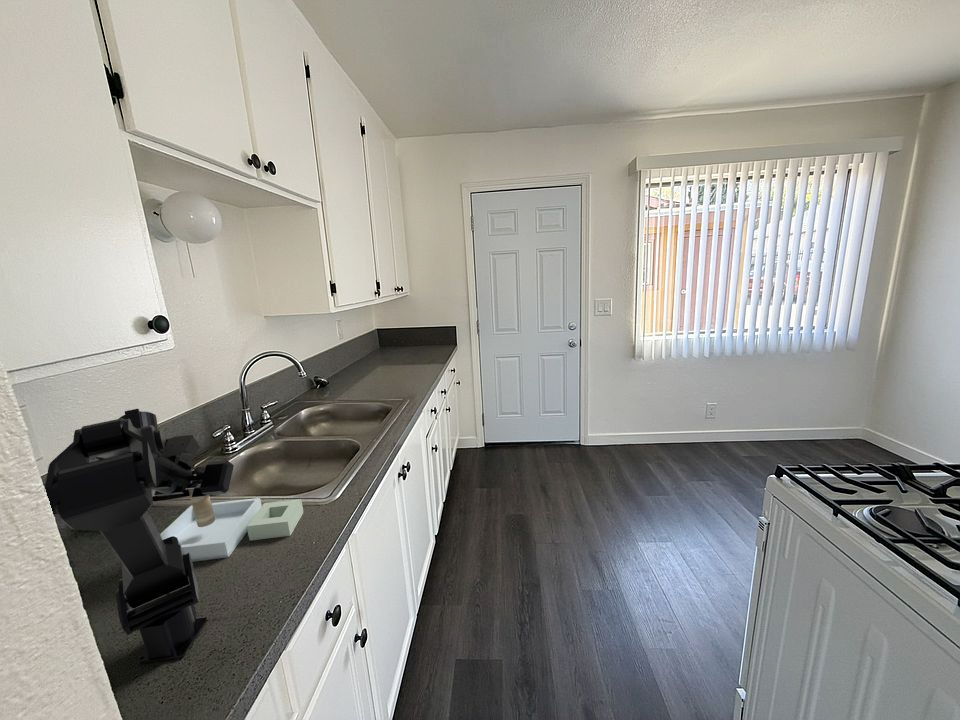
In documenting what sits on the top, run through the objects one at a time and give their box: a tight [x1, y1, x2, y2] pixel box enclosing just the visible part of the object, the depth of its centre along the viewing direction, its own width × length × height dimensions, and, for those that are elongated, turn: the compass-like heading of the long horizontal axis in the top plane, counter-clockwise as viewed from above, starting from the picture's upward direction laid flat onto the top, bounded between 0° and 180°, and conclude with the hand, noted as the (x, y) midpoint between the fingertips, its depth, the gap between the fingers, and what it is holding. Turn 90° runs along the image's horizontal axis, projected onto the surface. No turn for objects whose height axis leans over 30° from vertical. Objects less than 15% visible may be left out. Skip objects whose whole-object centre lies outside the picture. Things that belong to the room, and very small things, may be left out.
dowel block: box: [247, 498, 304, 541], centre depth 86 cm, size 8×8×4 cm
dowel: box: [188, 468, 215, 527], centre depth 82 cm, size 3×3×12 cm
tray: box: [159, 497, 263, 563], centre depth 83 cm, size 16×16×4 cm
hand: (203, 491), depth 83 cm, fingers closed on dowel, 3 cm apart
